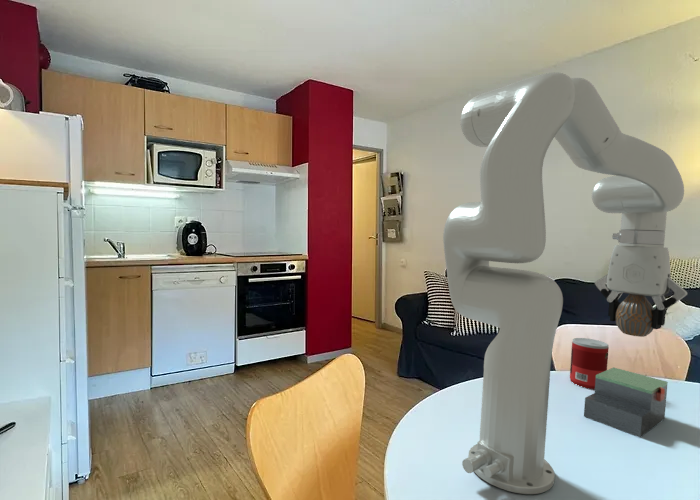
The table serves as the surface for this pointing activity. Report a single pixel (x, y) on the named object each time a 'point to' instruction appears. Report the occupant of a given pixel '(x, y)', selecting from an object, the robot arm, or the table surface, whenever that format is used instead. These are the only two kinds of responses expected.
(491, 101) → the robot arm
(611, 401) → the stand
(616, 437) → the table surface
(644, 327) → the vase
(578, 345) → the canned food
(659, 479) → the table surface
